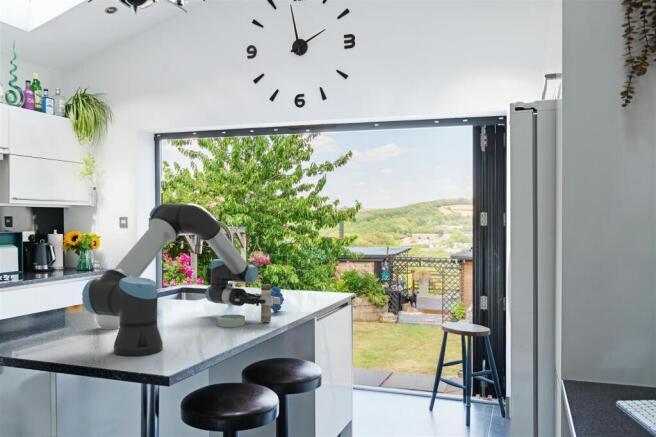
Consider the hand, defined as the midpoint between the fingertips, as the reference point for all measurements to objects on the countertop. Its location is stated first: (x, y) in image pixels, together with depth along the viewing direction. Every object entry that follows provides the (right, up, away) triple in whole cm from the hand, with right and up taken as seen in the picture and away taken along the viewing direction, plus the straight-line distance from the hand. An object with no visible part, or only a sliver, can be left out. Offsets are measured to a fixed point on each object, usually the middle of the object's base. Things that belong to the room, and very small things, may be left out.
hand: (275, 301), depth 224 cm
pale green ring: (-18, -9, -1) cm, 20 cm away
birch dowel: (-4, -8, +3) cm, 10 cm away
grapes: (-2, -9, +27) cm, 29 cm away
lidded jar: (-64, -9, -9) cm, 65 cm away
